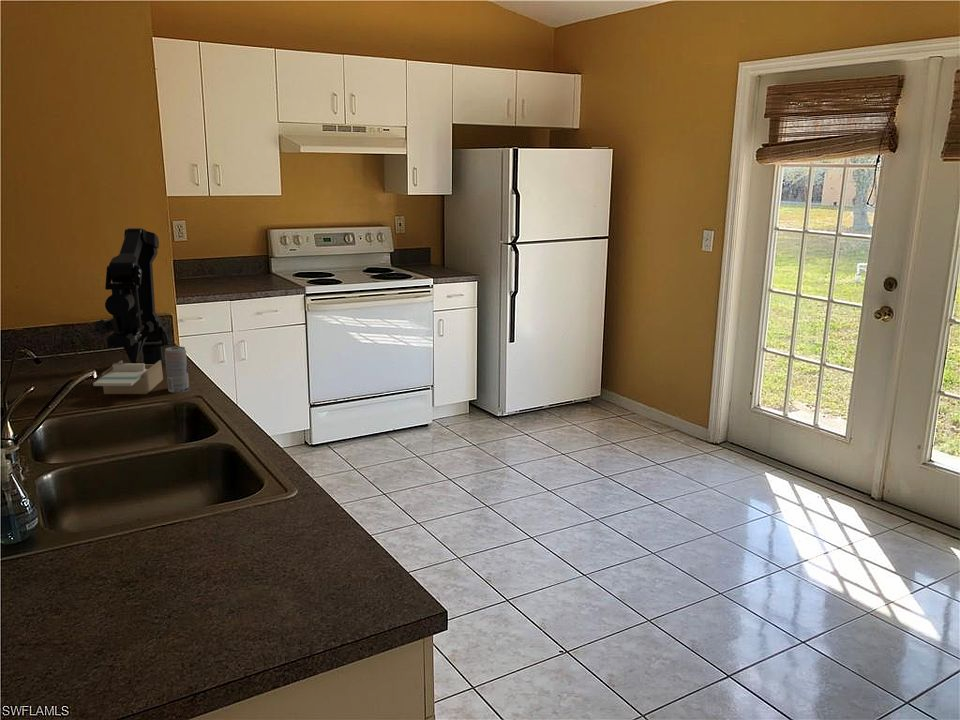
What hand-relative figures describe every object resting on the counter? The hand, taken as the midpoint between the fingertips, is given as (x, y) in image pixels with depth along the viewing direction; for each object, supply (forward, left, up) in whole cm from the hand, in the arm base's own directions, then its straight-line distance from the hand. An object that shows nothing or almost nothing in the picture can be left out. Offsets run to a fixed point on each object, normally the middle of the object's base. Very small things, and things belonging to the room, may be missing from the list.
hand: (134, 363), depth 211 cm
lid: (+9, 0, -1) cm, 9 cm away
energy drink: (+4, +13, -7) cm, 15 cm away
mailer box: (+2, 0, -7) cm, 7 cm away
